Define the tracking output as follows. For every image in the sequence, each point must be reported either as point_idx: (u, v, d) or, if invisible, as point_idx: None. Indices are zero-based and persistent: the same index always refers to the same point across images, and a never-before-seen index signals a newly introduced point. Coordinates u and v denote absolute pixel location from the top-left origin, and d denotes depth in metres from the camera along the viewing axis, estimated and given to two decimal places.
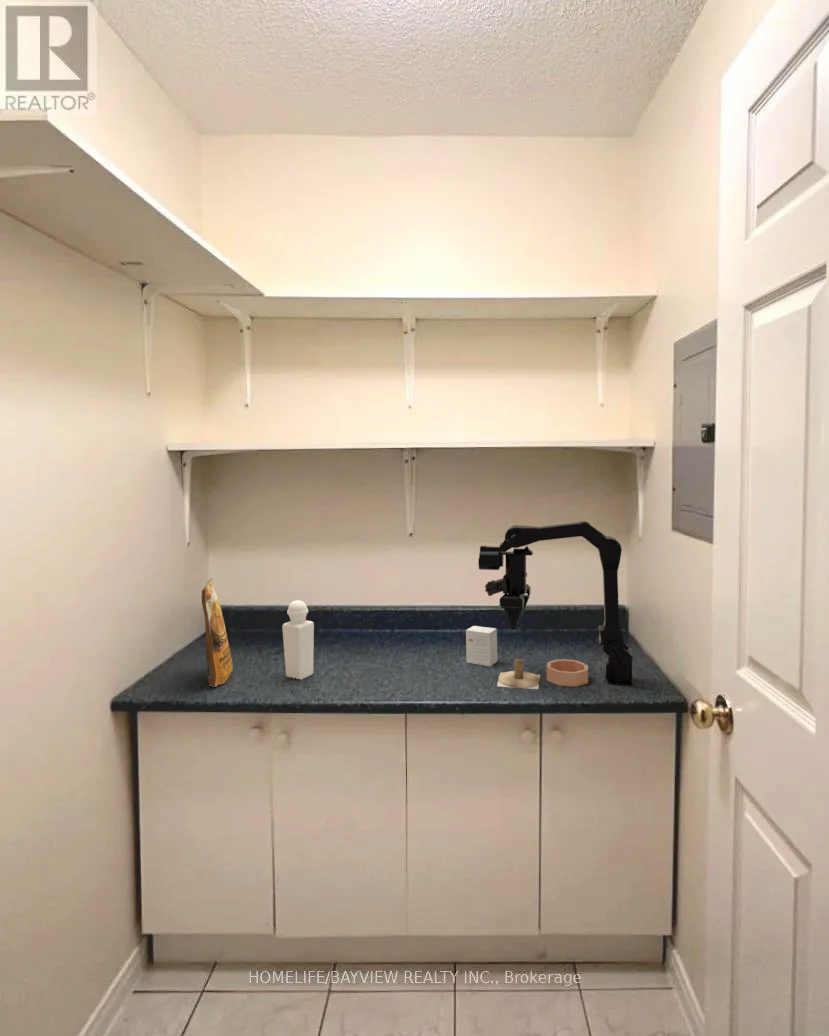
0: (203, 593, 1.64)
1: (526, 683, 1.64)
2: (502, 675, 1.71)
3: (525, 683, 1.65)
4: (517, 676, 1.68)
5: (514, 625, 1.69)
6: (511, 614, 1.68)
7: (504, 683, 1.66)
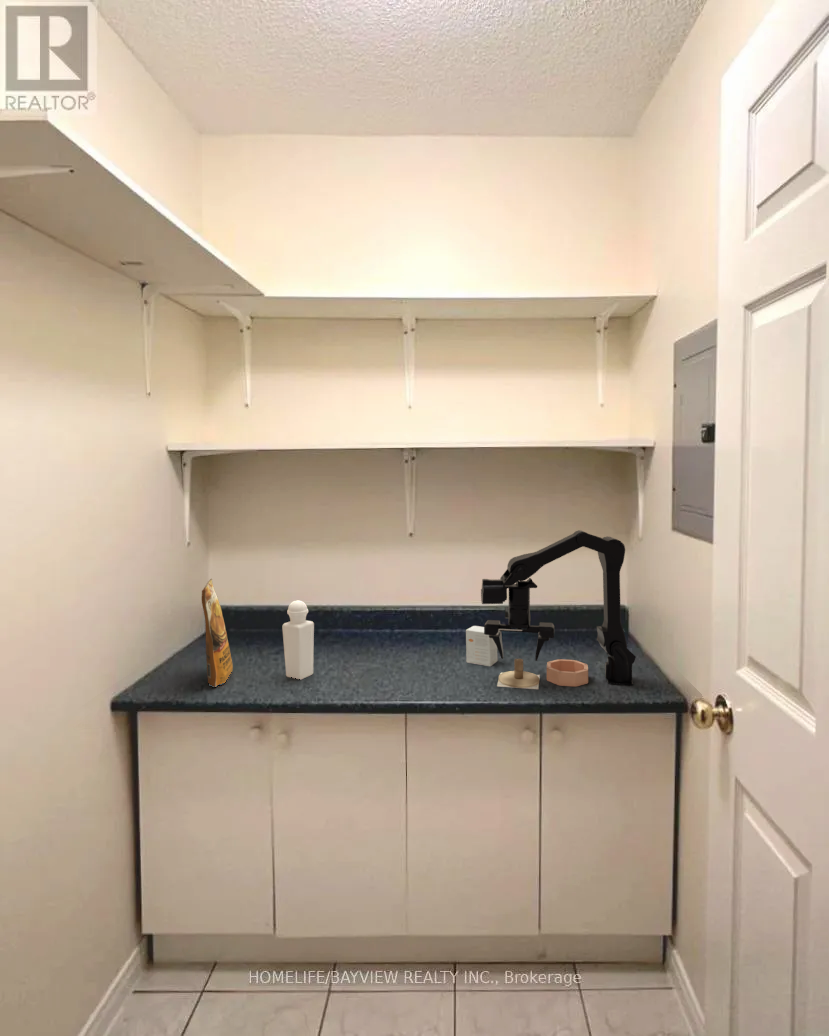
0: (203, 593, 1.64)
1: (526, 683, 1.64)
2: (502, 675, 1.71)
3: (525, 683, 1.65)
4: (517, 676, 1.68)
5: None
6: None
7: (504, 683, 1.66)
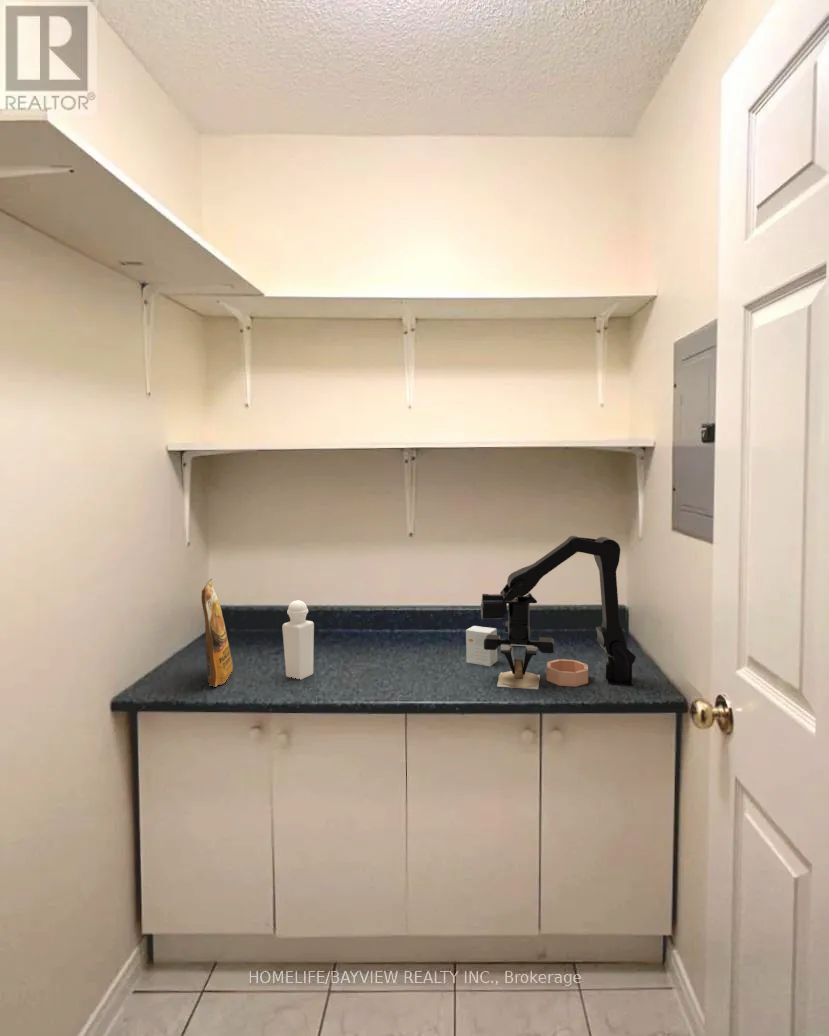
0: (203, 593, 1.64)
1: (526, 683, 1.64)
2: (502, 675, 1.71)
3: (525, 683, 1.65)
4: (517, 676, 1.68)
5: None
6: None
7: (504, 683, 1.66)
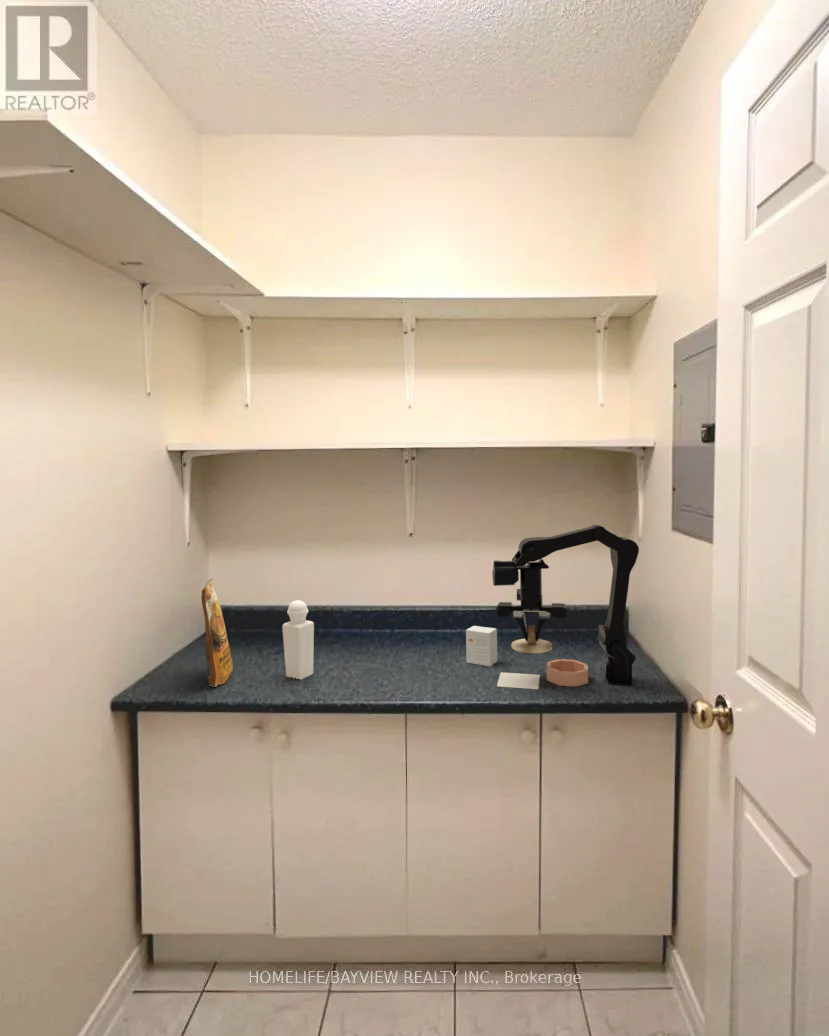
0: (203, 593, 1.64)
1: (539, 649, 1.64)
2: (515, 642, 1.70)
3: (538, 649, 1.64)
4: (530, 642, 1.67)
5: (524, 636, 1.68)
6: None
7: (517, 649, 1.65)
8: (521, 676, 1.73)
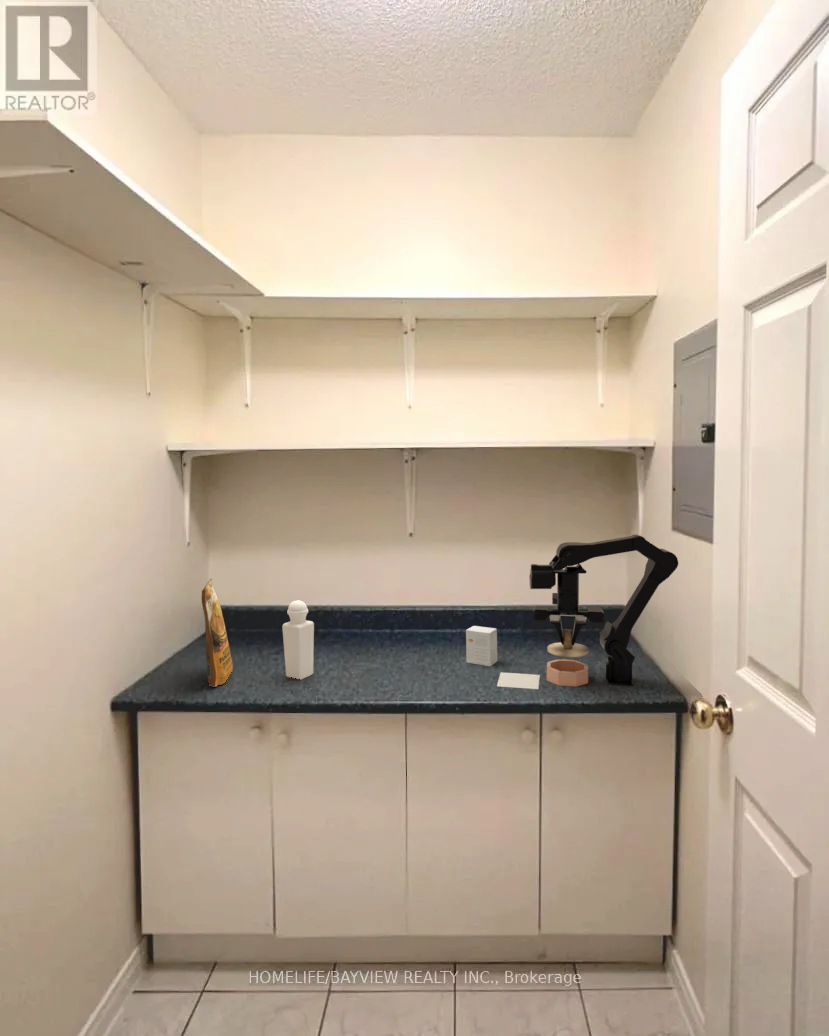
0: (203, 593, 1.64)
1: (576, 653, 1.65)
2: (550, 646, 1.71)
3: (575, 653, 1.65)
4: (566, 646, 1.68)
5: None
6: None
7: (554, 653, 1.66)
8: (521, 676, 1.73)
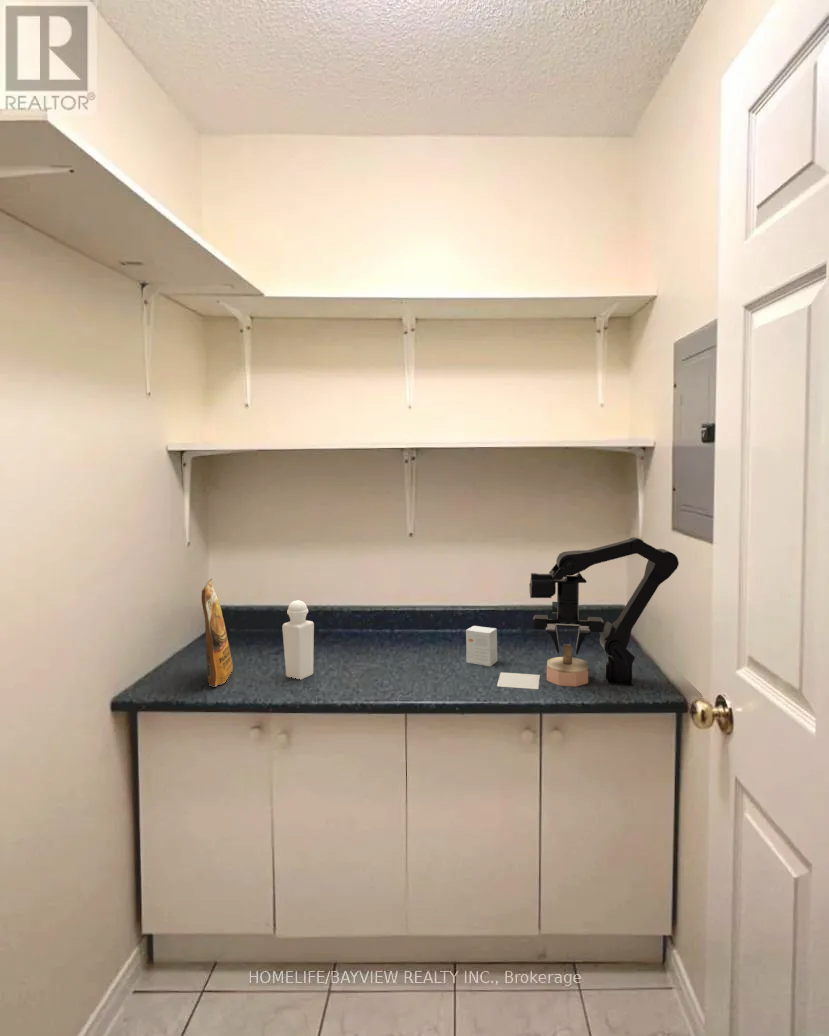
0: (203, 593, 1.64)
1: (576, 668, 1.65)
2: (550, 661, 1.72)
3: (575, 668, 1.65)
4: (566, 661, 1.69)
5: (556, 649, 1.70)
6: None
7: (554, 668, 1.67)
8: (521, 676, 1.73)
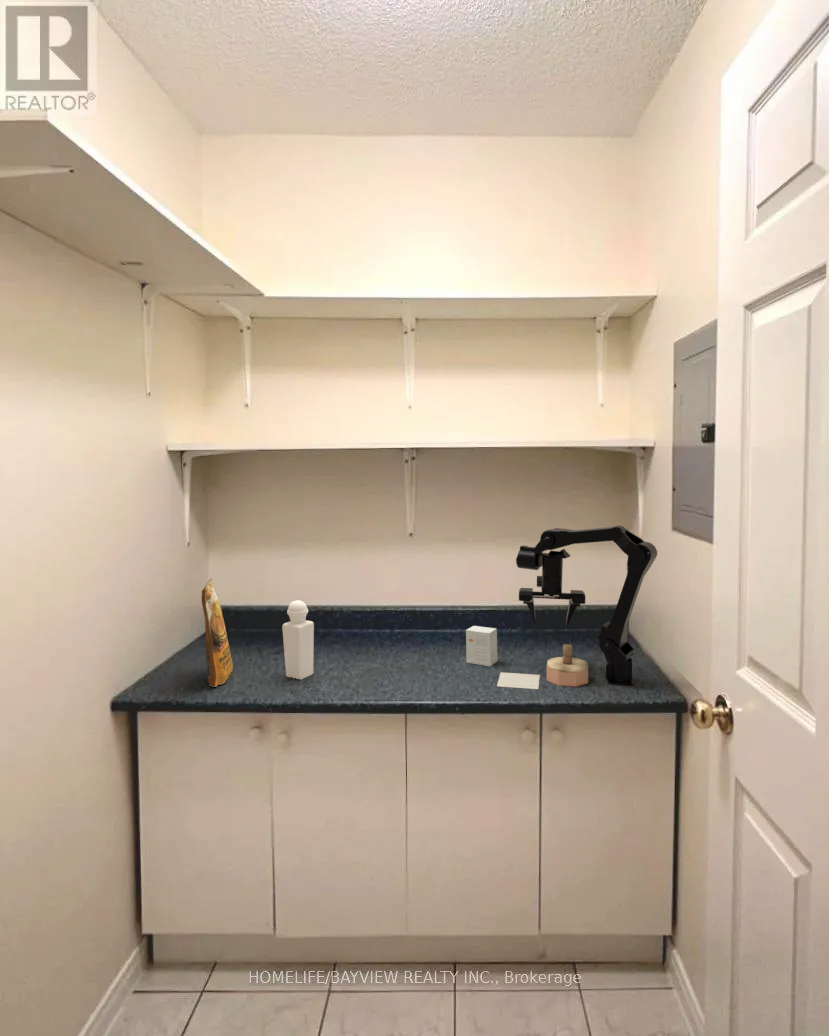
0: (203, 593, 1.64)
1: (576, 668, 1.65)
2: (550, 661, 1.72)
3: (575, 668, 1.65)
4: (566, 661, 1.69)
5: (533, 619, 1.80)
6: None
7: (554, 668, 1.67)
8: (521, 676, 1.73)
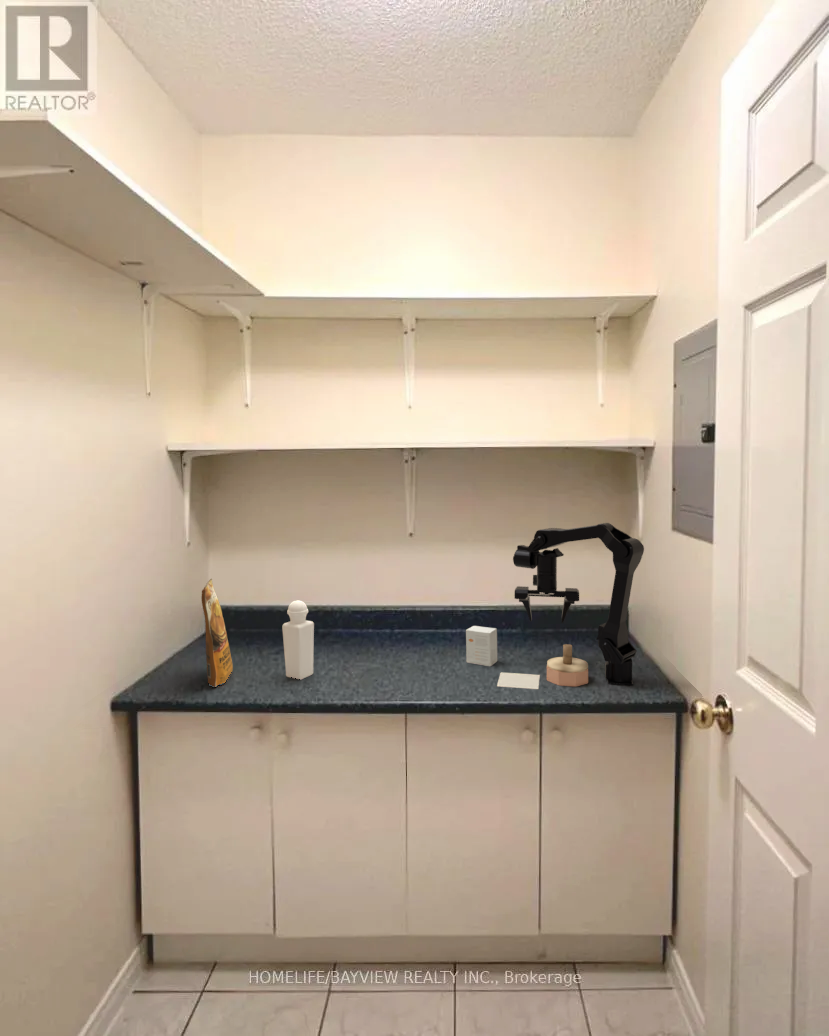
0: (203, 593, 1.64)
1: (576, 668, 1.65)
2: (550, 661, 1.72)
3: (575, 668, 1.65)
4: (566, 661, 1.69)
5: (529, 617, 1.85)
6: None
7: (554, 668, 1.67)
8: (521, 676, 1.73)
